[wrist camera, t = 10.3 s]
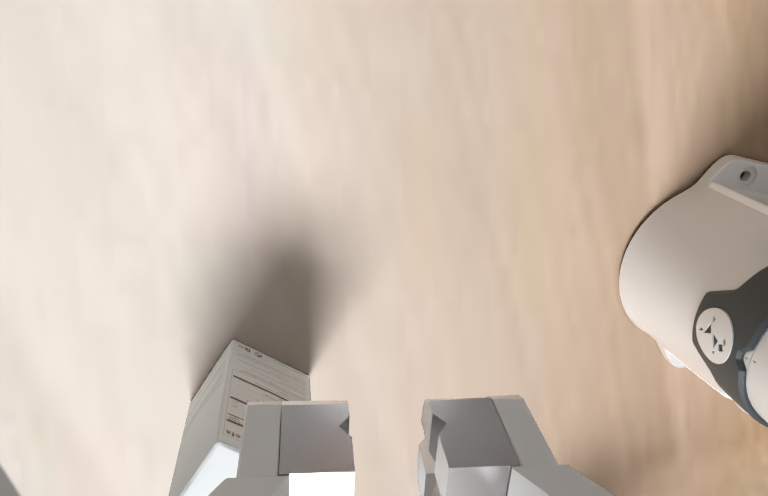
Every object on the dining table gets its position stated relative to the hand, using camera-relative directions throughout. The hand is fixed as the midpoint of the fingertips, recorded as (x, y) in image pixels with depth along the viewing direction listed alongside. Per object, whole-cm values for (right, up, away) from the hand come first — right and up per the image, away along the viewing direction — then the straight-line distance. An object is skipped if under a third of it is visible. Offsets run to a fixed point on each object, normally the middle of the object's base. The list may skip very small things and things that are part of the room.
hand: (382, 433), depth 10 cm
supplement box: (-11, -9, +43) cm, 45 cm away
